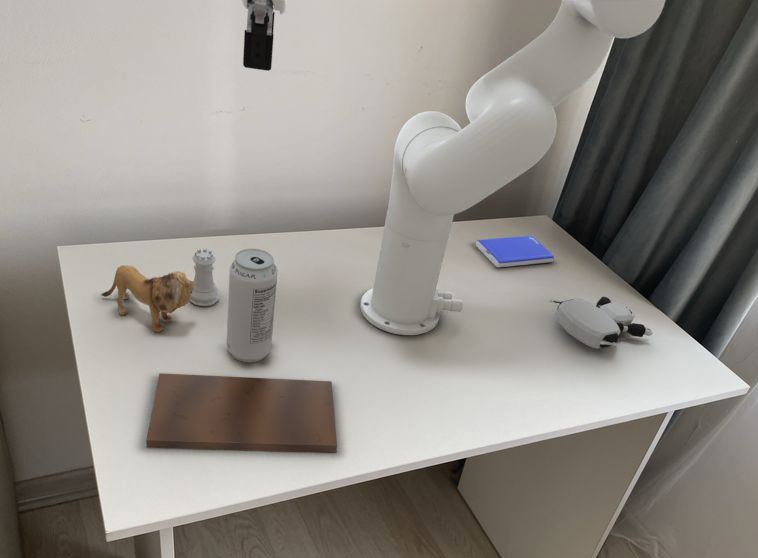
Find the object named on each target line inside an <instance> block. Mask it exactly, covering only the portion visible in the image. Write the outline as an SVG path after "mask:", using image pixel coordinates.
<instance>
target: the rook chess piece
mask: <svg viewBox="0 0 758 558" xmlns="http://www.w3.org/2000/svg"><path fill="white" fill-rule="evenodd" d="M191 259H192V261H193V263H194V266H193V270H194V278H193V282H195V289H194V291H192V294H191V299H190V301H189V302H190V303H192V304H193V305H195V306H199V307H210V306H213V305H214V304H215V303H217V301H218V300H219V298H220V295H219V289H218V286H217V284H216V283H215V281H214V276H213V271H214V269H215V268H214V265H213V264H214V263H215V262H216V260H217V259H216V257H215V255H214V252H213V250H211V249H207V248H203V249H201V248H198V249H196V250H195V251H194V254H193V255H192V257H191Z"/></svg>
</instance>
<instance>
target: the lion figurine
mask: <svg viewBox="0 0 758 558" xmlns="http://www.w3.org/2000/svg"><path fill="white" fill-rule="evenodd" d="M116 288H117V296H118V297H117V304H118V314H119V315H121V316H125V315H127V314H128V313H129V310H128V309H127V308H126V307H125V305H124V300H127V299H129V298H130V294H129V293H128V292H127V290H129V291H130V293H131V294H132V296H133V297H134V299H135V300H137V301H138V302H139V303H141V304H144V305H146V306H148V307H149V311H150V316H151V323H152V324H151V325H152V330H153V331H154V332H155V333H160V332H162V331H163V330H164V328H163V326H162V324H161V320H162V321H163V322H166V323H169V322H172V320H173V317H172V316H171V315H168V314H172V313H174V312H175V311H176V310H177V309H180V308H182V307H185V306H186V305H188V304H189V302H191V301H190V299H191V294H192V291H194V289H195V282H194V280H193V281H192V280H190V279H188V277H187V275H186V273H185V272H182V271H179V270H177V271H172V272H169V273H167V274H164V275H162V276H158V277H157V276H155V277H151V278H148V277H147V276H144V275H143V274H142V273H141V272H140V271H139V270H138V269H137V267H135V266H133V265H124V264H122V265H120V266H118V267H117V269H116V271H115V275H114V279H113V283H112V286H111V287H110V288H109V290H107V291H104V292H103V293H101V294H100V296H102V297H103V298H106V297H109V296H111V295H112V293H113V292H114V291H115V290H116ZM160 319H161V320H160Z"/></svg>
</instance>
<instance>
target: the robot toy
mask: <svg viewBox="0 0 758 558" xmlns="http://www.w3.org/2000/svg"><path fill="white" fill-rule="evenodd" d="M601 296H602V295H601ZM548 301H549V303H556V304H558V305H557V308H556V312H555V319H556V320H557V322H558V324H559V325H560V326H561V327H562V329H563V330H564V331H565V332H566V333H567V334H568V335H570V336H571V337H573V338H574V339H576V340H577V341H578V342H580V343H582V344H583V345H585V346H588V347H589V348H593V349H600V348H601V349H605V348H609V347H610V348H611V347H616V345H617V344H618V341H619V339H620V334H622V333H625V332H626V333H628V334H629V335H631V336H632V337H637V338H643V336H644V335H645V336H647V337H650V336H652V335H653V331H652V330H651V328H649V327H648V326H645V325H644V324H642V323H637V322H633V320H634V318H635V317H636V313H635V312H633V311H632V310H631V309H629V308H628V306H625V305H623V304H621V303H618V302H615V301H612V299H611V298H609V297H607V296H606V295H605V296H602V297H600V298H599V300H597V302H596V305H595V304H593V303H591V302H589V301H588V300H587V301H586V300H584V299H581V298H576V299H574V298H573V299H572V298H571V299H567V300H561V301H559V300H554V299H549V300H548Z"/></svg>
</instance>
